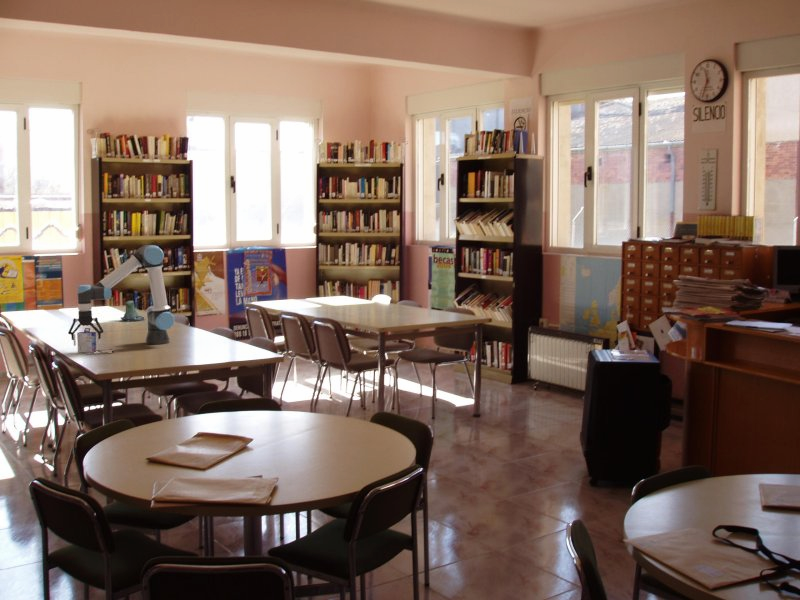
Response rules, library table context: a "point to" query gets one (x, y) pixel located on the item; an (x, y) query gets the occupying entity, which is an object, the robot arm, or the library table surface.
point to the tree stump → (131, 313)
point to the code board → (92, 352)
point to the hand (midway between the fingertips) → (86, 344)
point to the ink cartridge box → (86, 341)
